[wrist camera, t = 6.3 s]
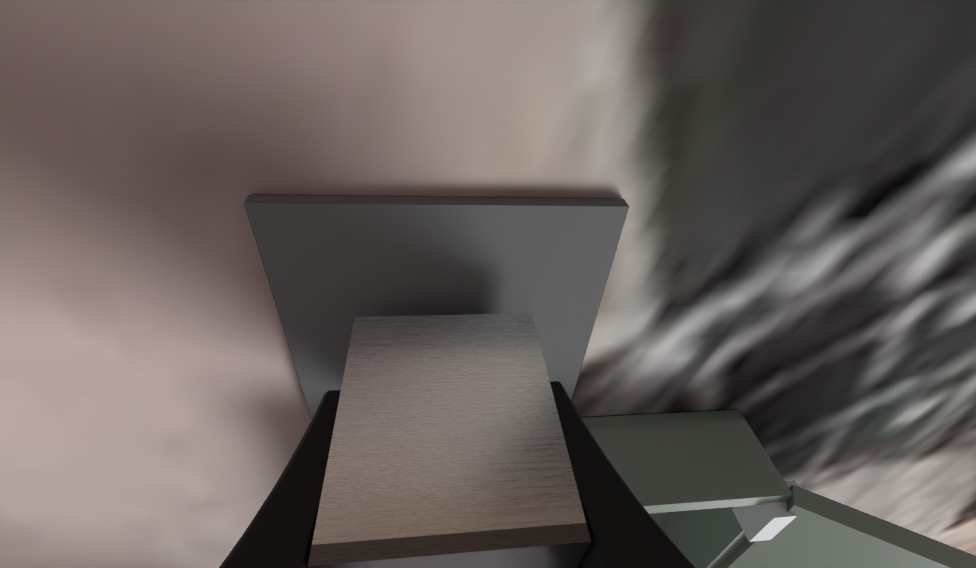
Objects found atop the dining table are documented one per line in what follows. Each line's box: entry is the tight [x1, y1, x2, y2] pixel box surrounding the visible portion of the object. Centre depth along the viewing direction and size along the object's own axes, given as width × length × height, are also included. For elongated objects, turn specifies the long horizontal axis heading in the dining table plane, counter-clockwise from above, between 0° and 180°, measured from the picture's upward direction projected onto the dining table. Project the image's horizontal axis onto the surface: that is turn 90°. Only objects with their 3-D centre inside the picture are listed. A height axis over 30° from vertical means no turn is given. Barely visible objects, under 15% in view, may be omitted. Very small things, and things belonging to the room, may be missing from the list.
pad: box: [244, 195, 629, 419], centre depth 13 cm, size 9×9×1 cm
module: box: [308, 313, 591, 568], centre depth 11 cm, size 4×4×6 cm
